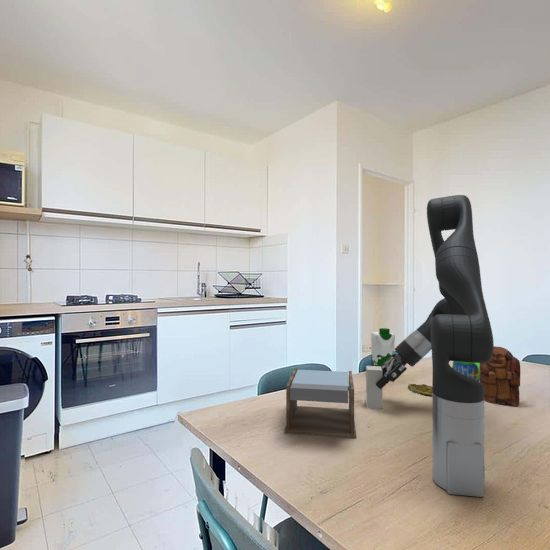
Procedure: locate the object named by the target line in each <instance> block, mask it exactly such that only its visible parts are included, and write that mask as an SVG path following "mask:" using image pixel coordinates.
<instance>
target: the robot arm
mask: <svg viewBox="0 0 550 550" xmlns="http://www.w3.org/2000/svg"><path fill="white" fill-rule="evenodd" d="M471 203H472V202H471V200H470V199H469V197H468V196H467V195H465V194H456V195H447V196H442V197H435V198H430V199H429V200H428V202H427V205H426V219H427V227H428V230H429V231H428V232H429V235H430V241H431V246H432V251H433V255H434V262H435V263H434V265H435V278H436V280H437V282H438V290H439V293H440V295H441V296H442V297H443V298H442V299H441V300H439V301H437V303H436V304H435V305H434V306H433V309H432V310H431V312H429V314H428V317H427V318H426V320H425V321H424V322H423V323H422V324H421V325H420V326H419V327H417V328H416V330H414V331H412V332H411V333H410V334H409V335H407V336H406V337H405V338H404V339H403V340H402V341H401V342H400V343H399V344H398V345H397V346H396V347H395V352H396V353H397V355H396V353H395V354H393V355H392V356H391V357H390V358H389V359H387V360H386V361H385V362H384V363H383V364H382V365H381V368H382V378H381V379H380V380H379V381H377V382H376V386H377V387H378V388H379V389H382V390H383V389H384V388H385V386H386V385H387V384H389V383H390V382H391V383H394V382H395V381H396V380H397V379H398V378H399V377H400V376H401V375H403V373H405V372H406V371H407V367H406V366H407V365H409V366H410V367H411V368H412V367H414V366H415V365H416V364H418V363H419V362H420V361H421V360H422V359H423V358H424V357H425V356H427V354H429V353H430V352H431V360H432V361H431V362H432V384H431V386H432V397H431V400H432V401H431V402H432V403H431V404H432V406H431V412H432V413H431V418H432V419H431V420H432V421H431V423H432V424H431V426H432V427H431V431H432V432H431V434H432V435H431V436H432V438H431V439H432V442H431V444H432V446H431V447H432V448H431V449H432V450H431V451H432V453H431V456H432V457H431V458H432V480H433V481H434V483H435V484H436V485H438V487H440V488H441V489H444V490H445V491H446V493H447V494H449V495H456V496H466V497H467V496H470V497H479V498H483V497H484V495H485V494H484V491H485V486H486V485H485V484H486V482H485V479H486V477H485V468H486V467H485V400H484V387H483V385H482V384H481V383H480V381H477V380H475V379H473V378H470V377H468V376H465V375H463V374H461V373H459V372H458V371H456V370H455V369H453V368H452V365H450V362H453V361H458V362H471V363H485V362H488V361H489V360H490V359H491V358H492V355H493V350H494V335H493V330H492V325H491V321H490V317H489V313H488V311H487V306H486V301H485V299H484V293H483V287H482V286H483V285H482V278H481V277H482V276H481V267H480V262H479V255H478V251H477V246H476V241H475V235H474V222H473V208H472V204H471ZM452 230H454V231H453V232H452V233H451V234H450V235H449V236H448V237H447V238H446V239H445V240H444V236H443V235H442V234H443V233H442V232H443V231H452ZM385 373H386V374H385Z"/></svg>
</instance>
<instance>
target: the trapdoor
mask: <svg viewBox="0 0 550 550" xmlns="http://www.w3.org/2000/svg"><path fill="white" fill-rule="evenodd" d="M290 400H297V401H300V402H302V401H303V402H320V403H336V404H338V403H339V404H349V371H341V370H340V371H338V370H337V371H333V370H314V369H297V373H296V375H295V377H294V379H293V382H292V385H291V387H290Z"/></svg>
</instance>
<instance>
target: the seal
mask: <svg viewBox="0 0 550 550" xmlns="http://www.w3.org/2000/svg"><path fill="white" fill-rule="evenodd" d="M407 387H408V390H409V391H410V392H411V391H412V392H411V393H413V392H414V394H416V393H417V395H419V394H420V396H424V397H430V398H432V385H427V384H424V383H422V384H416V383H409V384H408V385H407Z"/></svg>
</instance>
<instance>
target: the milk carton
mask: <svg viewBox="0 0 550 550" xmlns="http://www.w3.org/2000/svg"><path fill="white" fill-rule="evenodd" d="M390 331H391V330H390V328H387V327H386V328H385V327H384V328H379V329H378V331H371V332H370V341H371V345H370V346H371V347H370V348H371V360H370V361H371V362H370V363H371V366H381V365H382V364H383V363H384V362H385V361H386V360H387V359H389V358H390V357H391V356H392V355H393V354H395V355H396V353H395V352H396V351H395V348H396V347H395V344H396V343H395V338H396V335H395V334H394V333H392V332H390ZM385 374H386V373H385Z"/></svg>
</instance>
